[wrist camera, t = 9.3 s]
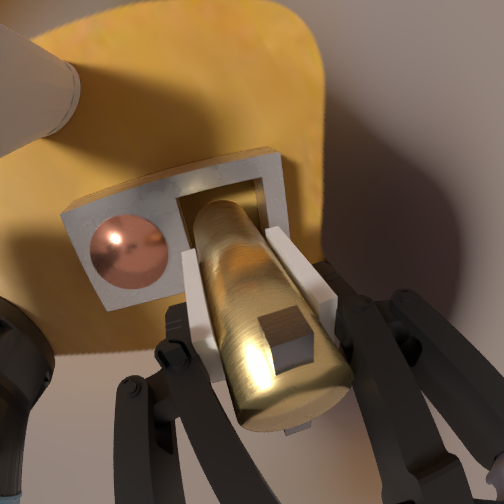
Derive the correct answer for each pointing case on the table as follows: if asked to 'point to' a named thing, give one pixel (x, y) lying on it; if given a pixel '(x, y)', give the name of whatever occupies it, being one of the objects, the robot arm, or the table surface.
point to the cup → (33, 92)
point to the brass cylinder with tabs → (264, 328)
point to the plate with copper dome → (161, 224)
